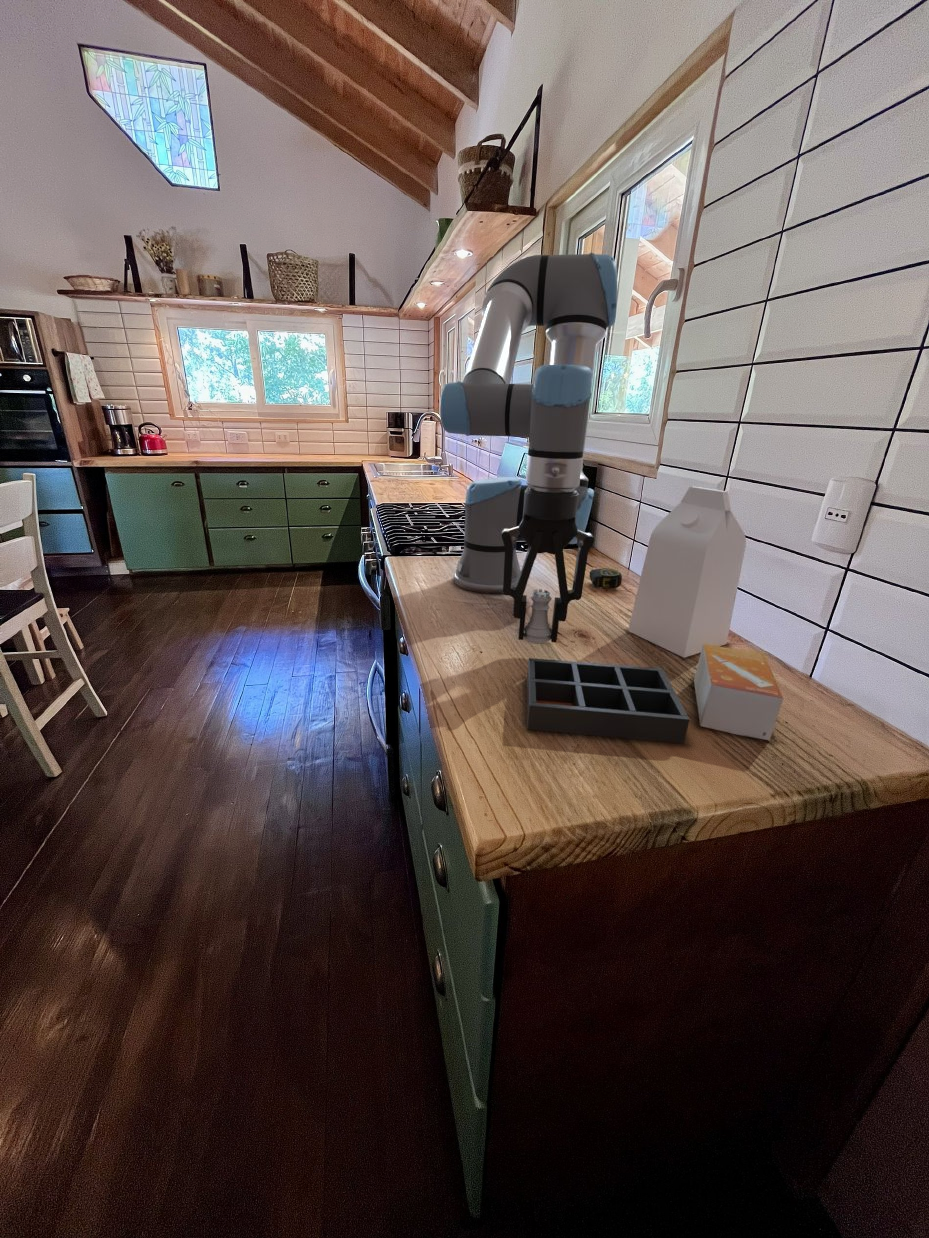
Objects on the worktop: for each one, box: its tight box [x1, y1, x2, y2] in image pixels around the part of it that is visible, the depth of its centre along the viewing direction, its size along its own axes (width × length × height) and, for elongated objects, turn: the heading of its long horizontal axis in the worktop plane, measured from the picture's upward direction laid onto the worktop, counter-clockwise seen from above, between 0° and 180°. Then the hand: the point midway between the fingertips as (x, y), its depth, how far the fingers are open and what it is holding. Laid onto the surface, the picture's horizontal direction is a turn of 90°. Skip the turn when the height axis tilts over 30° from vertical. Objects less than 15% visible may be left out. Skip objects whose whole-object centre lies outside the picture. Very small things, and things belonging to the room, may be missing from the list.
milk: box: [627, 485, 747, 659], centre depth 84 cm, size 12×12×26 cm
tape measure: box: [588, 567, 623, 590], centre depth 113 cm, size 7×7×4 cm
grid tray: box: [526, 657, 690, 745], centre depth 66 cm, size 13×19×4 cm
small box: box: [693, 644, 784, 741], centre depth 66 cm, size 8×6×13 cm
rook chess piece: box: [523, 588, 553, 645], centre depth 78 cm, size 4×4×8 cm
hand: (537, 637), depth 79 cm, fingers closed on rook chess piece, 4 cm apart
